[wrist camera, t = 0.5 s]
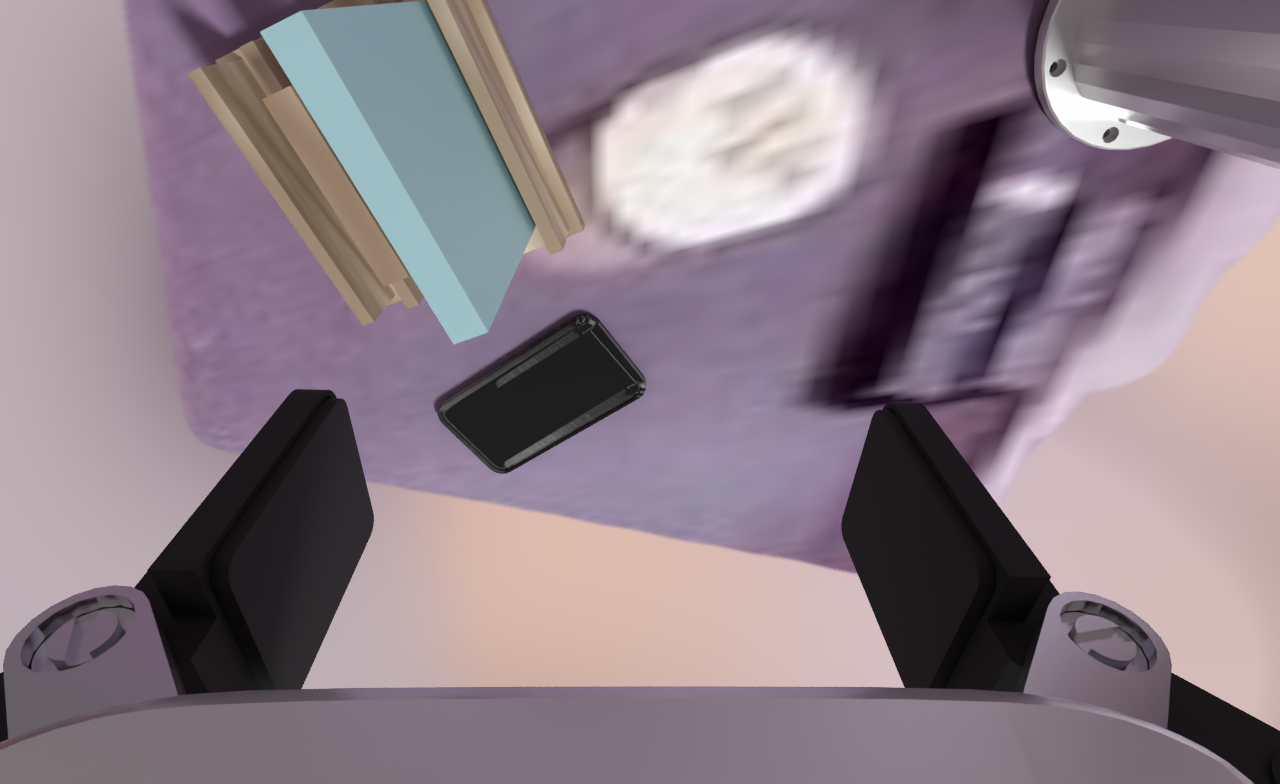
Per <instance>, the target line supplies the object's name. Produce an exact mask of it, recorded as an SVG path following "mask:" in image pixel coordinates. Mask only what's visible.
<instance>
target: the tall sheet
mask: <svg viewBox="0 0 1280 784" xmlns="http://www.w3.org/2000/svg"><path fill="white" fill-rule="evenodd" d="M260 33H261V35H262V36H263V38H264V40H265V41H266V43H267V45H268V46H269V48H270V49H271V51H272V53H273V54H274V56H275V57H276V59H277V61H278V62H279V64H280V65H281V67H282V69H283V70H284V72H285V74H286V75H287V77H288V78H289V80H290V82H291V83H292V85H293V86H294V88H295V90H296V91H297V93H298V94H299V96H300V98H301V99H302V101H303V102H304V104H305V106H306V107H307V109H308V111H309V112H310V114H311V115H312V117H313V119H314V120H315V122H316V123H317V125H318V127H319V128H320V130H321V131H322V133H323V135H324V136H325V138H326V140H327V141H328V143H329V144H330V146H331V148H332V149H333V151H334V152H335V154H336V156H337V157H338V159H339V160H340V162H341V164H342V165H343V167H344V169H345V170H346V172H347V173H348V175H349V177H350V178H351V180H352V181H353V183H354V185H355V186H356V188H357V189H358V191H359V193H360V194H361V196H362V197H363V199H364V201H365V202H366V204H367V206H368V207H369V209H370V210H371V212H372V214H373V215H374V217H375V218H376V220H377V222H378V223H379V225H380V226H381V228H382V230H383V231H384V233H385V235H386V236H387V238H388V239H389V241H390V243H391V244H392V246H393V247H394V249H395V251H396V252H397V254H398V255H399V257H400V259H401V260H402V262H403V263H404V265H405V267H406V268H407V270H408V272H409V273H410V275H411V276H412V278H413V280H414V281H415V283H416V284H417V286H418V288H419V289H420V291H421V292H422V294H423V296H424V297H425V299H426V301H427V302H428V304H429V305H430V307H431V309H432V310H433V312H434V313H435V315H436V317H437V318H438V320H439V321H440V323H441V325H442V326H443V328H444V329H445V331H446V333H447V334H448V336H449V338H450V339H451V341H452V342H453V344H457V343H459V342H462V341H465V340H468V339H471V338H473V337H476V336H479V335H482V334H484V333H487V332H488V331H489V329H490V327H491V325H492V323H493V320H494V318H495V316H496V314H497V311H498V309H499V307H500V305H501V302H502V300H503V298H504V296H505V294H506V291H507V289H508V287H509V285H510V282H511V280H512V278H513V276H514V274H515V271H516V269H517V267H518V265H519V262H520V260H521V258H522V256H523V253H524V251H525V249H526V247H527V245H528V242H529V240H530V238H531V236H532V233H533V231H534V229H535V227H536V224H535V222H534V220H533V218H532V216H531V214H530V212H529V210H528V208H527V206H526V204H525V202H524V200H523V198H522V195H521V193H520V191H519V189H518V187H517V185H516V183H515V181H514V179H513V177H512V175H511V173H510V171H509V169H508V167H507V165H506V162H505V160H504V158H503V156H502V154H501V152H500V150H499V148H498V146H497V144H496V142H495V140H494V138H493V136H492V134H491V131H490V129H489V127H488V125H487V123H486V121H485V119H484V117H483V115H482V113H481V111H480V109H479V107H478V105H477V103H476V101H475V98H474V96H473V94H472V92H471V90H470V88H469V86H468V84H467V82H466V80H465V78H464V76H463V74H462V72H461V70H460V67H459V65H458V63H457V61H456V59H455V57H454V55H453V53H452V51H451V49H450V47H449V45H448V43H447V41H446V39H445V37H444V34H443V32H442V30H441V28H440V26H439V24H438V22H437V20H436V18H435V16H434V14H433V12H432V10H431V8H430V6H429V3H428V1H427V0H425V1H413V2H400V3H388V4H376V5H363V6H351V7H339V8H326V9H314V10H302V11H300V12H298V13H296V14H294V15H292V16H290V17H288V18H286V19H284V20H282V21H280V22H278V23H276V24H274V25H272V26H270V27H268V28H266V29H264V30H262V31H260Z"/></svg>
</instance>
